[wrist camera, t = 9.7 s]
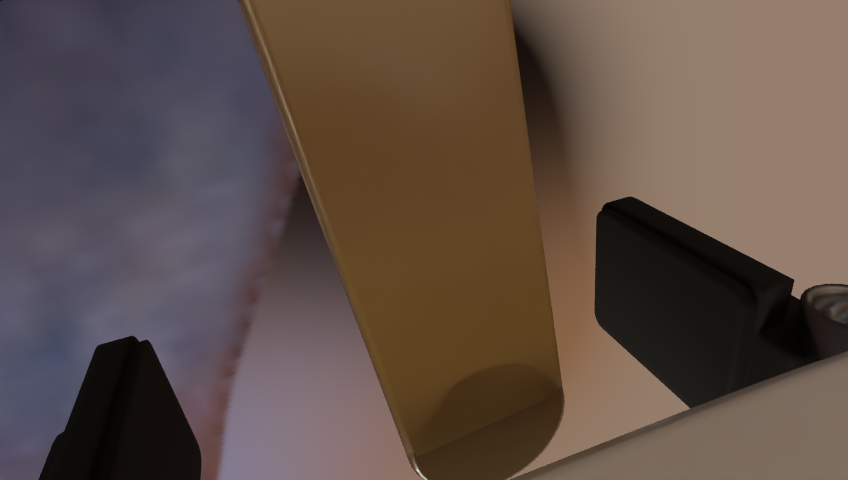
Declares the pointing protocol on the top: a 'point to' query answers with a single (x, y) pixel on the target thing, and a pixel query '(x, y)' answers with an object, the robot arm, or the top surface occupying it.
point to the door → (426, 214)
